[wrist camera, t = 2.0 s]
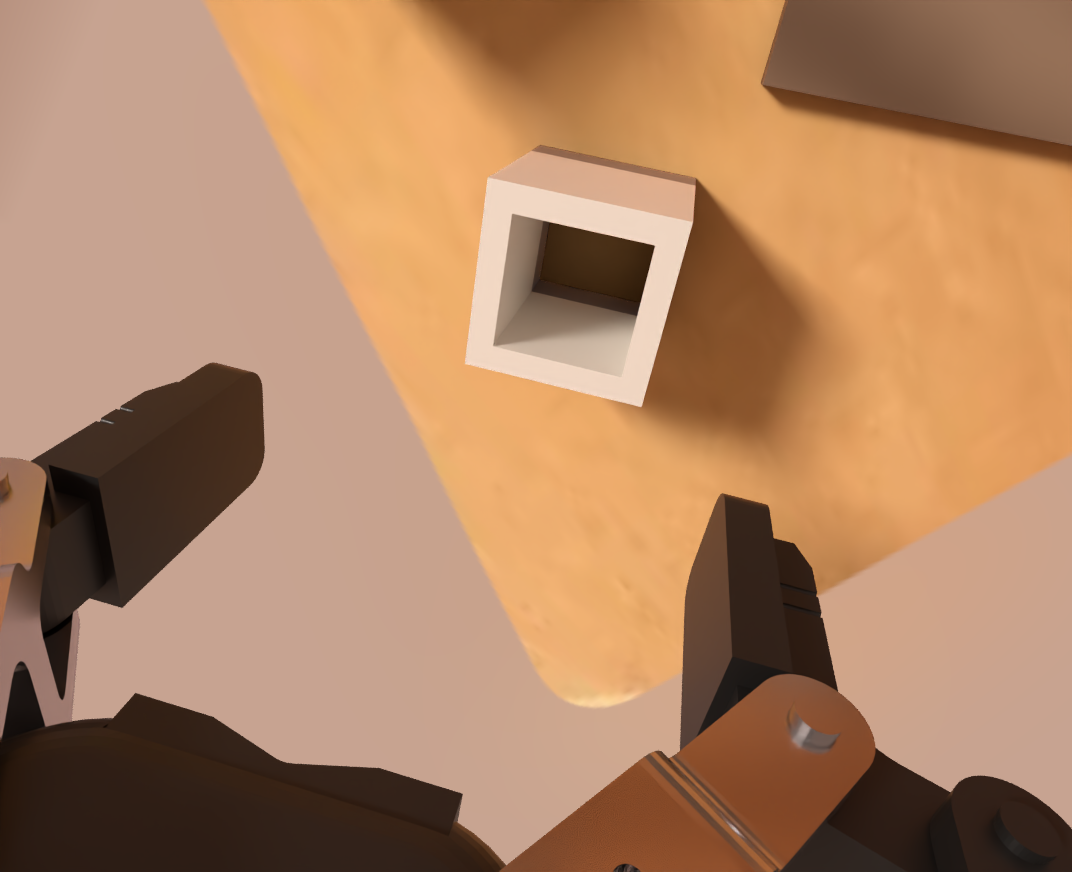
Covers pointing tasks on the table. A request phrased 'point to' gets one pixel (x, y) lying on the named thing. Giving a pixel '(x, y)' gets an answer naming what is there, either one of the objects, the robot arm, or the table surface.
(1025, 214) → the table surface
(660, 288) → the sleeve
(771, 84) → the pin plate
